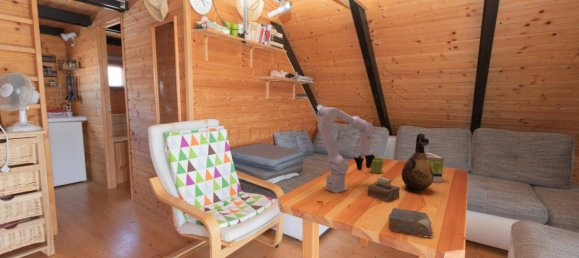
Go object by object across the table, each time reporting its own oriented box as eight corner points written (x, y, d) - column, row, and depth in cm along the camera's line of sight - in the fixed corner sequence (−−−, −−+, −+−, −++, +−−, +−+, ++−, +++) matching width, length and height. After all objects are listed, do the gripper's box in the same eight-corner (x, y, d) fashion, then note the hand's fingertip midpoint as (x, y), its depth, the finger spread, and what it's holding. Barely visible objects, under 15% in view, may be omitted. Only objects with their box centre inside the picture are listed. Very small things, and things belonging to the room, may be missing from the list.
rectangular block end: (387, 194, 132) (388, 180, 131) (376, 191, 137) (377, 177, 136) (390, 193, 134) (391, 179, 133) (379, 190, 138) (380, 176, 137)
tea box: (442, 182, 159) (444, 157, 157) (424, 182, 159) (426, 157, 158) (429, 175, 174) (431, 152, 172) (413, 174, 174) (415, 151, 173)
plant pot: (380, 175, 172) (381, 161, 171) (366, 172, 177) (366, 159, 176) (385, 172, 179) (386, 159, 178) (371, 169, 185) (372, 157, 184)
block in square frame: (387, 202, 128) (387, 191, 127) (367, 195, 137) (368, 185, 136) (398, 197, 134) (399, 187, 134) (379, 191, 143) (380, 181, 142)
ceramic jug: (436, 196, 137) (441, 136, 133) (403, 193, 140) (408, 135, 136) (426, 185, 154) (431, 132, 150) (397, 183, 157) (401, 131, 153)
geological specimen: (389, 206, 111) (431, 211, 105) (389, 221, 111) (431, 227, 105) (387, 216, 101) (433, 222, 95) (387, 232, 101) (433, 239, 95)
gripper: (362, 146, 141) (361, 172, 142) (379, 144, 149) (378, 168, 151) (351, 144, 146) (350, 169, 148) (368, 142, 155) (367, 165, 157)
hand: (363, 168), depth 150 cm, fingers open, 7 cm apart
